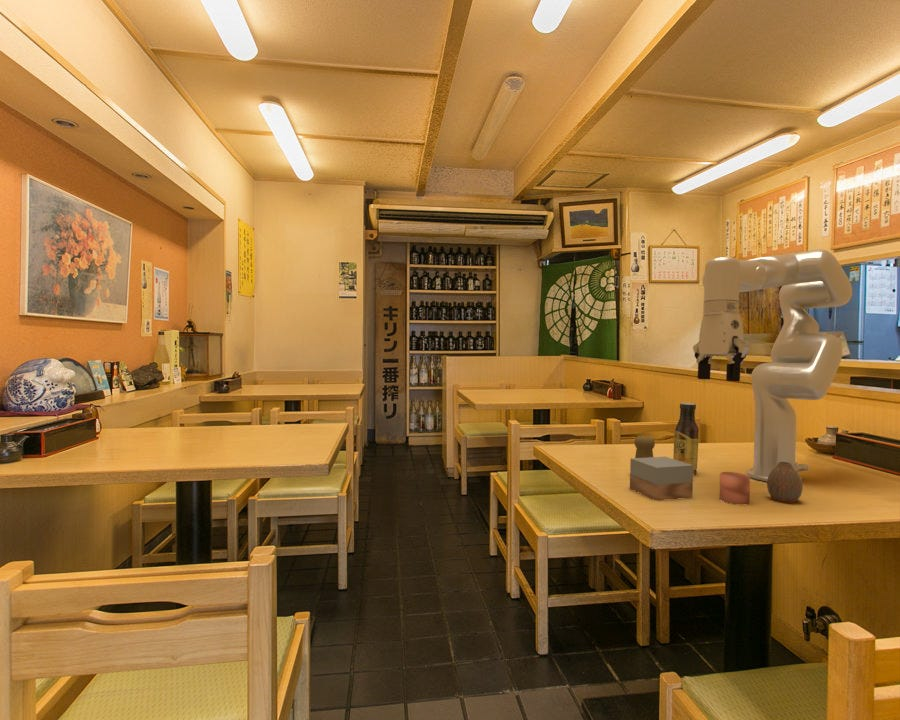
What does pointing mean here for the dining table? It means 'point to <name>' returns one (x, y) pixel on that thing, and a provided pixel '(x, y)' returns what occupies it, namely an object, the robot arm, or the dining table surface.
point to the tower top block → (661, 470)
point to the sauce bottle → (686, 436)
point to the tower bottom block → (661, 489)
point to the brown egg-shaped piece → (784, 483)
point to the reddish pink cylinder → (734, 487)
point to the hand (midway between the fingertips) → (717, 380)
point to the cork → (644, 447)
